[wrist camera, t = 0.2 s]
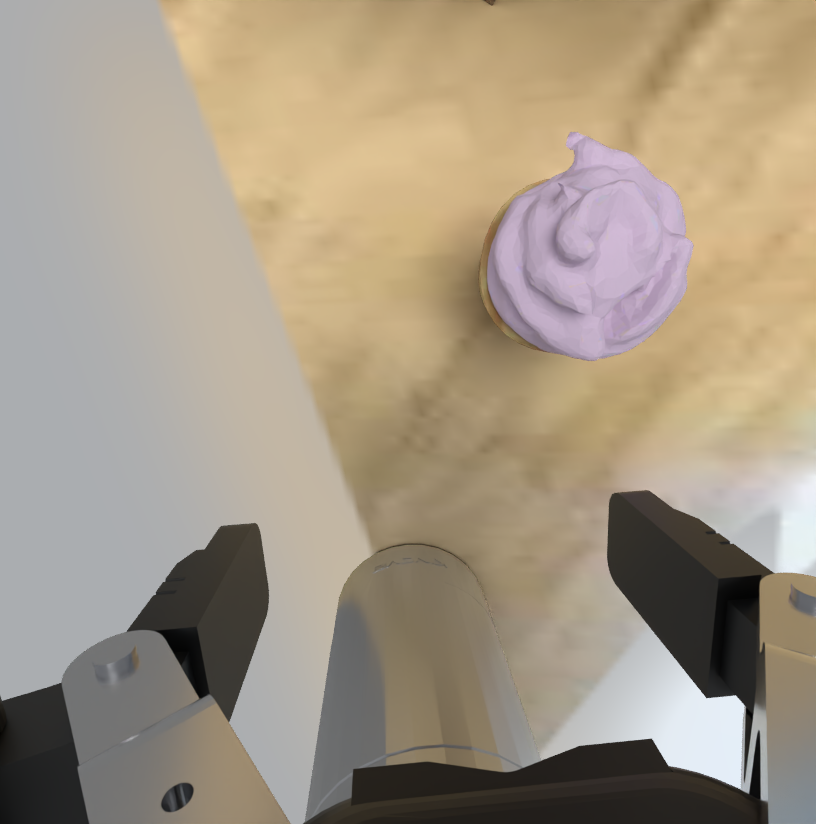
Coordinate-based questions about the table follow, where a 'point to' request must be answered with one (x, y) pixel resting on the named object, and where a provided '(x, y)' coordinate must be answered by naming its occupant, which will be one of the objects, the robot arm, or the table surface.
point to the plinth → (490, 1)
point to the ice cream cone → (586, 256)
